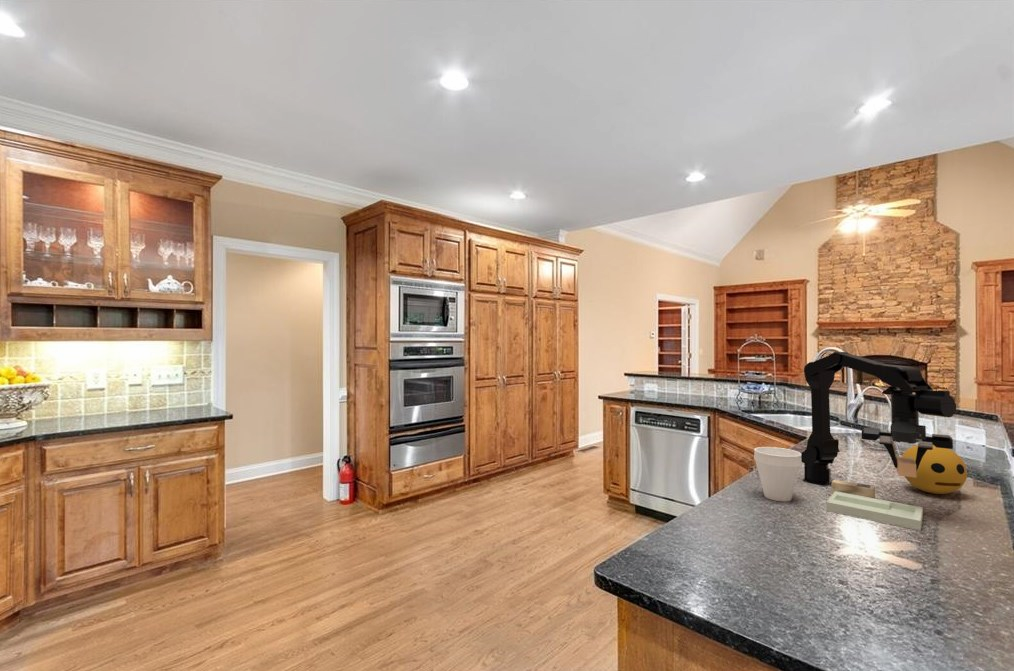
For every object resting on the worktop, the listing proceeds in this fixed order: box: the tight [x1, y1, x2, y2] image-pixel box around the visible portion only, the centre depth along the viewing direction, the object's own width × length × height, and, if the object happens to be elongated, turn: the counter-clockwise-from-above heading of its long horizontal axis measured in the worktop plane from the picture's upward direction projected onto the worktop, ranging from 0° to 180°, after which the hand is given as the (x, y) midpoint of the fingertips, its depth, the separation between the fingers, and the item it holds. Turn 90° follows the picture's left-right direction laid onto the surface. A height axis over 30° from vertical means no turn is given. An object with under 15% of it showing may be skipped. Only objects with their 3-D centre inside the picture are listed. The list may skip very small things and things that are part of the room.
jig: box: [826, 491, 924, 532], centre depth 122 cm, size 19×13×2 cm
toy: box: [901, 444, 968, 495], centre depth 140 cm, size 15×15×15 cm
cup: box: [753, 446, 803, 502], centre depth 135 cm, size 12×12×14 cm
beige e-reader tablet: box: [830, 479, 876, 499], centre depth 136 cm, size 10×4×4 cm, turn 46°
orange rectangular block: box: [895, 455, 916, 478], centre depth 125 cm, size 4×9×4 cm, turn 142°
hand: (905, 469), depth 125 cm, fingers closed on orange rectangular block, 4 cm apart
